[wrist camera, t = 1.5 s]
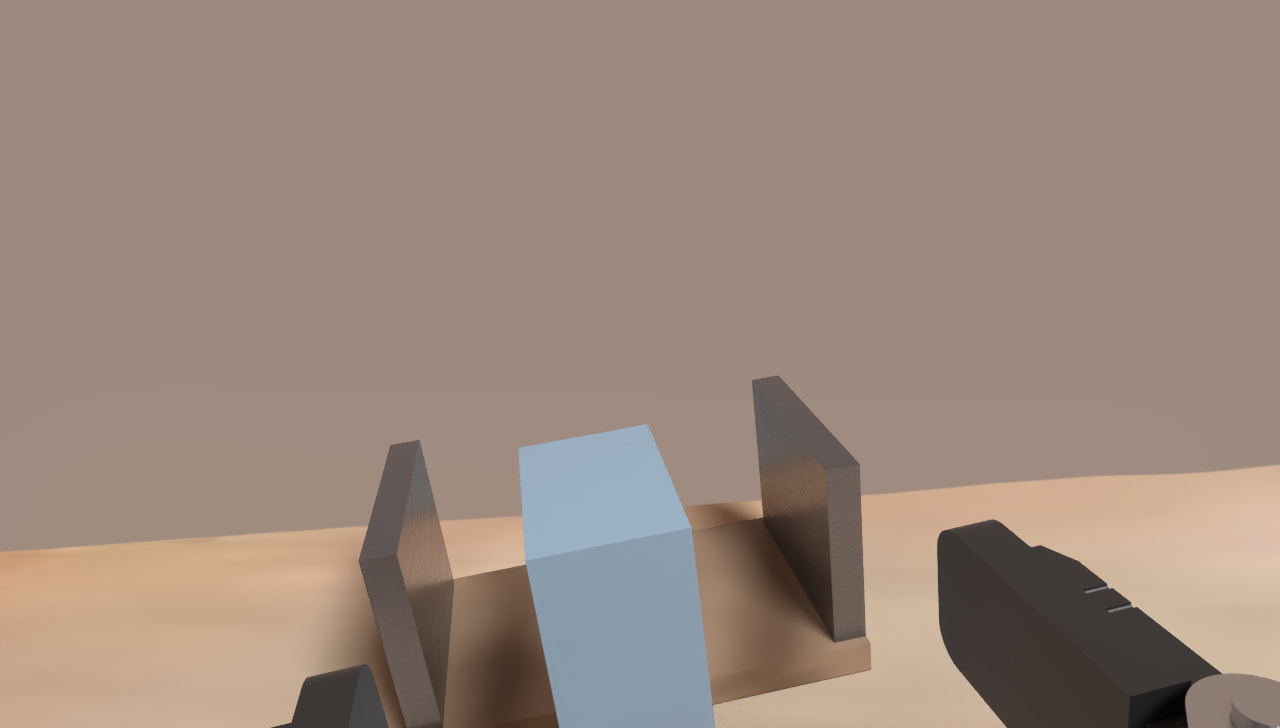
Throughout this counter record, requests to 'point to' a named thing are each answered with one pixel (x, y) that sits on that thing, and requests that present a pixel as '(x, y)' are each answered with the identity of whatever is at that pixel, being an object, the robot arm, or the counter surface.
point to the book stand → (732, 620)
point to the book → (614, 583)
